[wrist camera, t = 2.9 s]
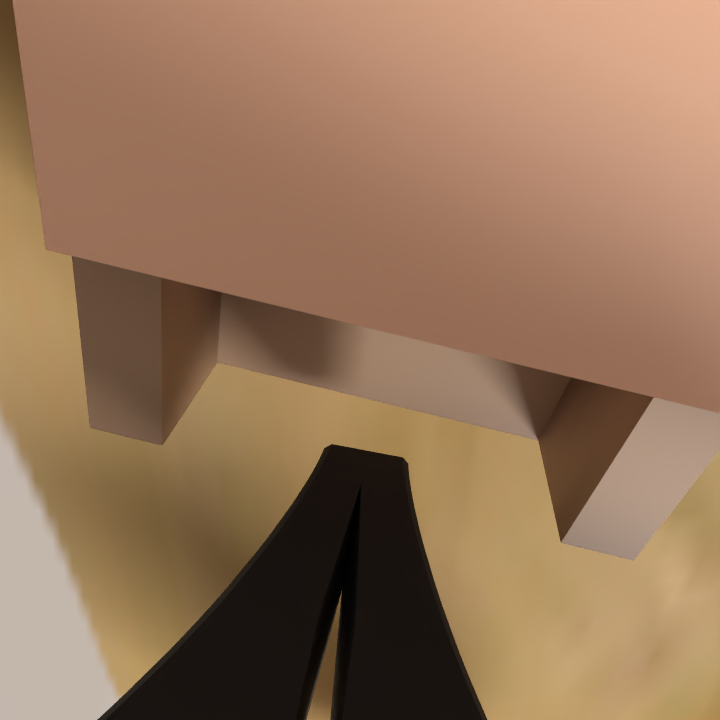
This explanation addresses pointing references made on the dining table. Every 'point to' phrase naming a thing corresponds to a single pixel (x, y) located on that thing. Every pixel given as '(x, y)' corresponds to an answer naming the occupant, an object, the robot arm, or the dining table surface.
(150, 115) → the block
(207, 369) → the shallow wooden tray
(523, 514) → the dining table surface
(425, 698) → the robot arm
